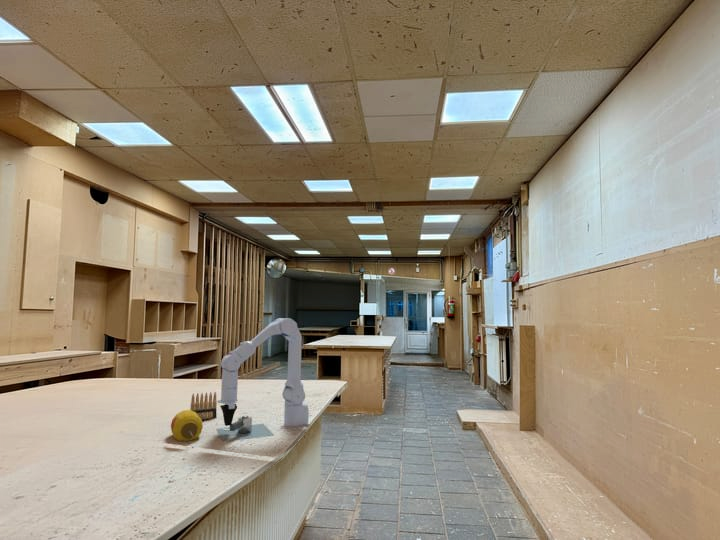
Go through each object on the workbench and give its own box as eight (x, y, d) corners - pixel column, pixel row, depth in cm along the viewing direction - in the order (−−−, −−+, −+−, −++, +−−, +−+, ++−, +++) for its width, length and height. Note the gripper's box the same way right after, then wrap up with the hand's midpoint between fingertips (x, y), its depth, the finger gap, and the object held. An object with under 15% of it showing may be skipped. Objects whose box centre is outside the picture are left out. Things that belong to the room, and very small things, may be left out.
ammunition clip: (189, 423, 168) (191, 394, 169) (189, 422, 169) (190, 393, 171) (216, 420, 173) (217, 391, 174) (215, 419, 174) (217, 391, 176)
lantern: (172, 402, 157) (182, 419, 132) (198, 405, 162) (212, 422, 136) (164, 429, 155) (172, 451, 129) (190, 431, 160) (203, 453, 134)
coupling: (241, 429, 154) (242, 414, 155) (253, 429, 153) (254, 415, 154) (224, 438, 142) (225, 422, 143) (237, 439, 141) (238, 423, 142)
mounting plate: (263, 426, 163) (263, 423, 163) (274, 438, 147) (274, 434, 147) (216, 432, 155) (216, 428, 156) (222, 445, 139) (222, 441, 139)
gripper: (215, 385, 156) (214, 421, 155) (221, 391, 143) (219, 431, 142) (234, 384, 159) (233, 419, 158) (241, 390, 147) (239, 428, 145)
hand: (227, 425), depth 150 cm, fingers closed
